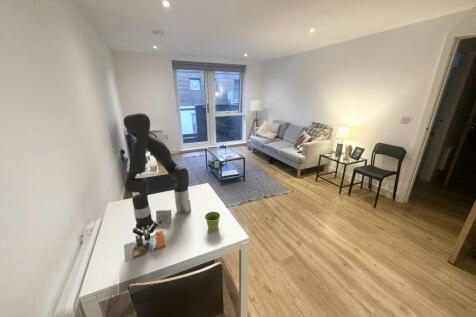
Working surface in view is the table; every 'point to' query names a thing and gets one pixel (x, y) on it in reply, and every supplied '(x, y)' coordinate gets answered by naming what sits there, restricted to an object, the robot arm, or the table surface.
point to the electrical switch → (163, 216)
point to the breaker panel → (141, 248)
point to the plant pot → (212, 220)
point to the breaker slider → (139, 240)
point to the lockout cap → (160, 239)
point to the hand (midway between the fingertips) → (147, 239)
